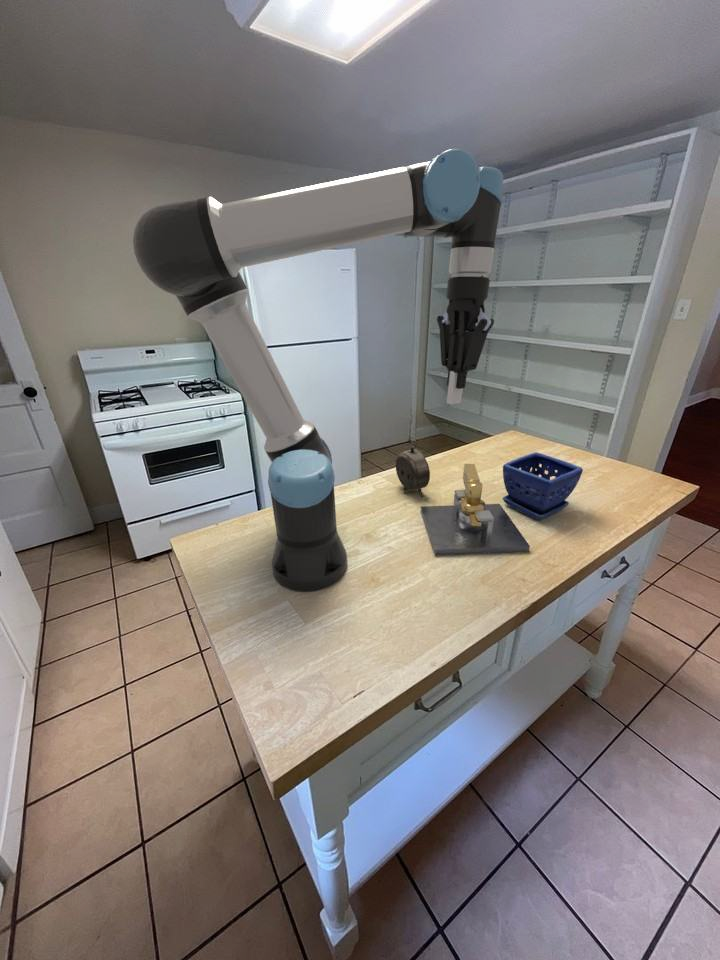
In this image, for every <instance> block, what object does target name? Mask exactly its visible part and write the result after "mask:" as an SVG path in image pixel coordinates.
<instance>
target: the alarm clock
mask: <svg viewBox="0 0 720 960" xmlns="http://www.w3.org/2000/svg"><path fill="white" fill-rule="evenodd" d="M410 439H413V440H414V442H415V445H414V446H413V445H412V446H411V443H410ZM407 442H408V446H409V448H410V449H409V450H405V451H402V452H400V453H399V454H398V455H397V457H396V459H395V471H396V475H397V478H398V480H399V482H400V484H401V485H402V487H403V490H402V493H403V494H404V493H405V492H406V490H407V491H410V492H414V491H418V493H419V495H420V497H421V498H423V497H424V494H423V491H422V489H424V488H427V486H428V485H429V482H430V480H431V479H430V478H431V471H430V466H429V463H428V461H427V459H426V457H425V455H424V454H423V453H422V452H421V451H420V450H419V449H417V448H416V447H417V440H416V438H415V437H414V436H412V435H411V436H409V438H408V441H407Z"/></svg>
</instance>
